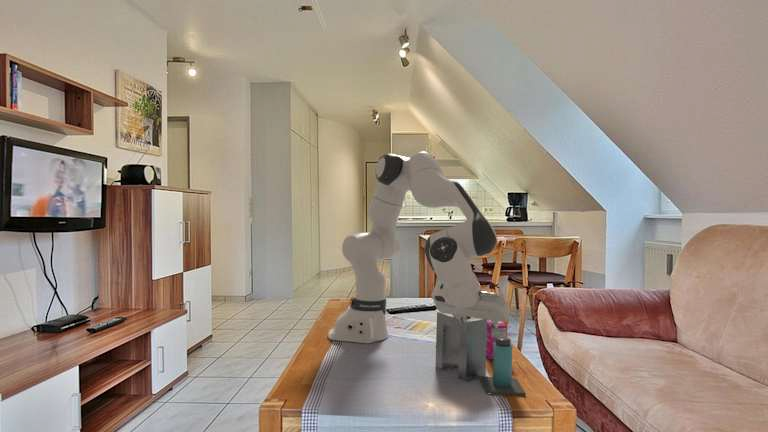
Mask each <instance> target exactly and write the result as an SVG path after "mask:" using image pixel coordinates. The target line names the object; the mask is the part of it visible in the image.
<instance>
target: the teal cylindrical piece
mask: <svg viewBox="0 0 768 432" xmlns="http://www.w3.org/2000/svg"><path fill="white" fill-rule="evenodd" d="M511 341H512V340H511V338H508V337H507V338H506V337H497V338H496V342H495V343H494V348H493V360H492V363H493V364H492V377H493V385H495V386H497V387H500V388H509V387H511V385H512V378H513V377H512V376H513V373H512V372H513V368H512V367H513V344H512V343H511Z"/></svg>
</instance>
